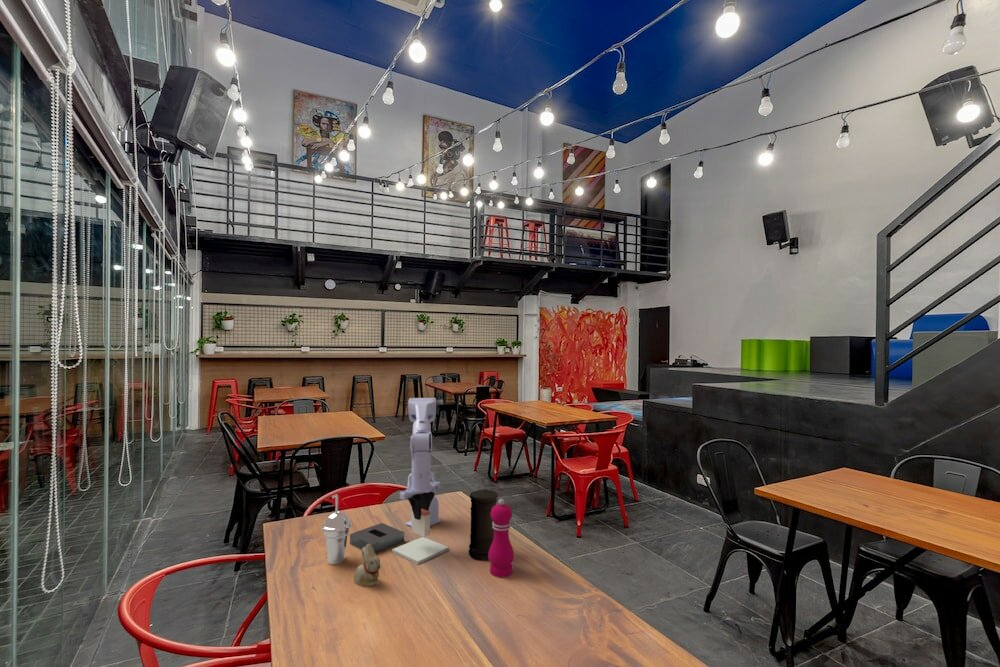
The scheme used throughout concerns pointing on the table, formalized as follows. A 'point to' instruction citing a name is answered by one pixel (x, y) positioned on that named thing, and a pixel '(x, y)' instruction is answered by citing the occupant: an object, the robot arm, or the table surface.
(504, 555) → the pepper mill
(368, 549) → the chocolate bunny
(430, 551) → the pad
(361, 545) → the grey plate with slot
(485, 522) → the container
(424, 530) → the pink topped brick
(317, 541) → the table surface
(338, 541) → the cup with straw
